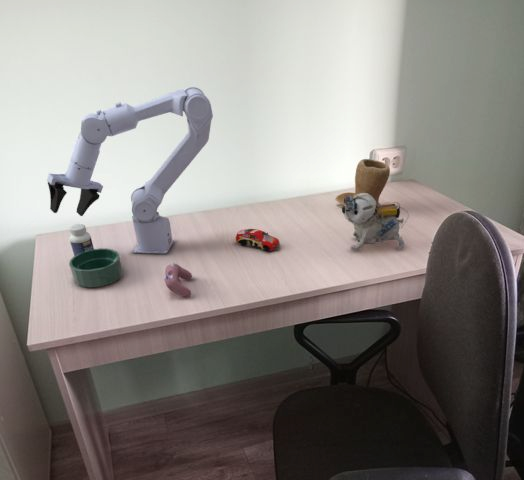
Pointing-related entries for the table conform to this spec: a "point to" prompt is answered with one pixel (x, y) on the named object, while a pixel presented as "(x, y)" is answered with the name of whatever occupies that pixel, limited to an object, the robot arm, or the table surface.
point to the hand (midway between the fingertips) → (66, 212)
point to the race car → (257, 239)
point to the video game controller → (177, 279)
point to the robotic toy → (372, 220)
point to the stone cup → (368, 179)
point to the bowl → (96, 267)
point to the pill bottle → (80, 239)
